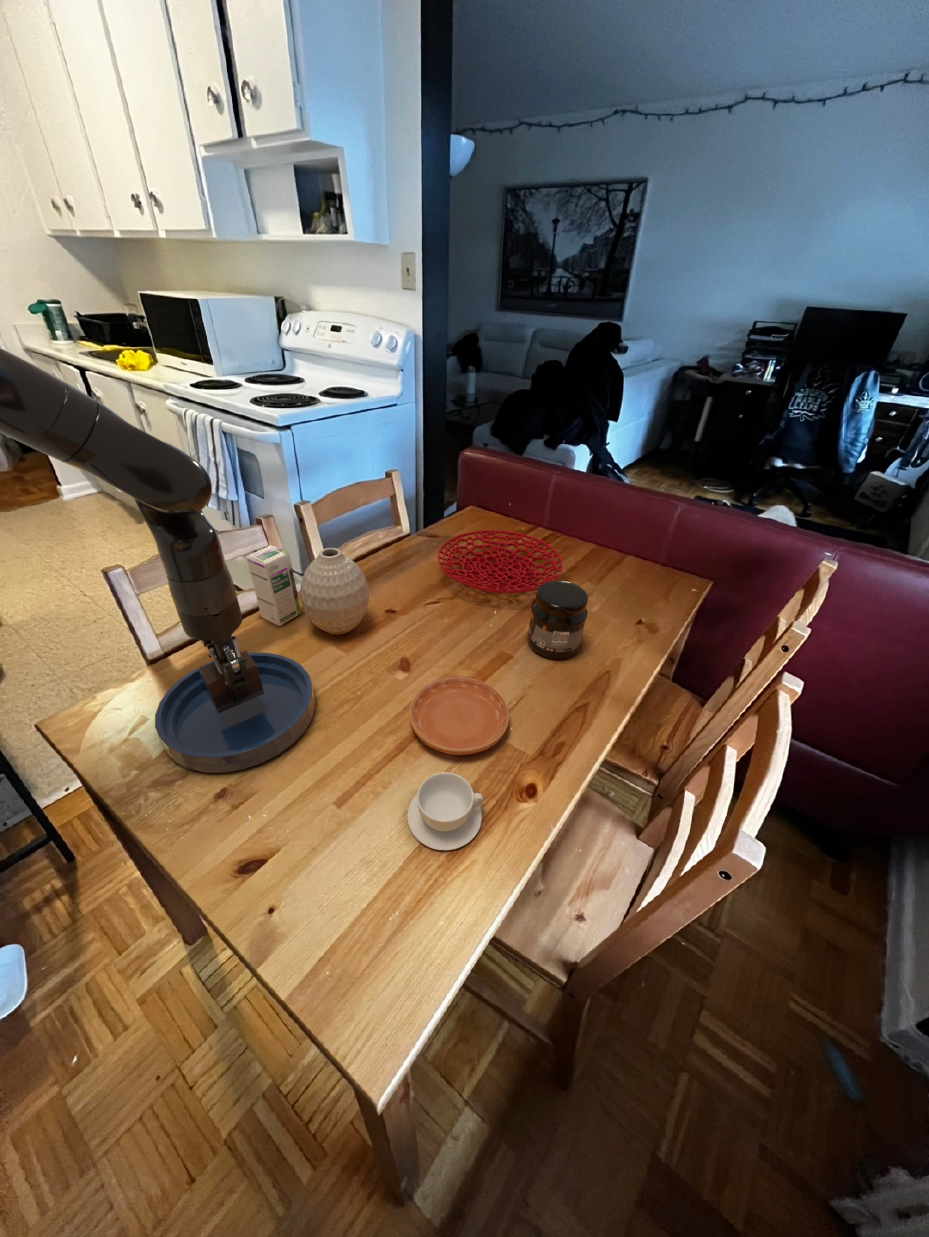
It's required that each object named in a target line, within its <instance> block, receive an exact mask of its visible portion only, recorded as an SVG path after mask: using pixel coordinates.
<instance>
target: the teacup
mask: <svg viewBox="0 0 929 1237" xmlns="http://www.w3.org/2000/svg"><path fill="white" fill-rule="evenodd" d="M483 798H484V797H483V794H482V793H480V792H474V790H473V788H472V785H471V784H470V783H469V782H468V780H467V779H466V778H464V777H463V776H461V775H459V774H457V773H453V772H450V771H449V772H446V771H444V772H437V773H434V774H431V775H429V776H428V777H427V778H425V779H423V781H422V782H421V783H420V785H419V786H418V788H417V792H416V794H415V796H414V797H413V799H412V800H411V801H410V804H409V806H408V809H407V825H408V827H409V831H411V834H412V835H413V836H414V837H415V839H416V840H417V841H418V842H420V843H421V844H422V845H424V846H426V847H427V848H431V849H433V850H438V851H450V850H456V849H459V848H461V847H464V846H466V845H467V844H468V843H470V842H471V841H472V840H473V839H474V838H475V837H476V835H477V834H478V832H479V830H480V828H481V825H482V822H483V821H482V820H483V813H482V808H481V806H482V805H483V803H484V802H483V801H484V799H483Z"/></svg>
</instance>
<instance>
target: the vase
mask: <svg viewBox="0 0 929 1237" xmlns="http://www.w3.org/2000/svg"><path fill="white" fill-rule="evenodd" d="M369 589H370V588H369V583H368V581H367V578H366V576H365V573H364V572H363V571H362V569H361V567H359V565H358V564H357V563H356V562H355V561H354V560H353V559H351V558H350V557H349V556H348V555H345V554H343V552H342V551H341V550H340V548H339V549H338V548H336V547H327V548H324V549H321V550H320V551H319V553H318V555H317V557H316V558H314V559H313V560H312V561H311V562H310V563H309V565H308V566H307V568H306V569H305V571H304V573H303V576H302V579H301V583H300V589H299V590H300V592H299V593H300V600H301V605H302V608H303V610H304V613H305V615H306V616H307V618H308V619H309V621H311V622H312V624H314V626H316V627H317V628H318V629H320V630H322V631H323V632H325V633H327V634H329V635H333V636H336V635H337V636H339V635H345V634H348V633H350V632H352V631H353V630H354V629H355V628H356V627H357V626H358V625H360V623H361V621H362V620H363V619H364V618H365V616H366V613H367V611H368V607H369V603H370V590H369Z"/></svg>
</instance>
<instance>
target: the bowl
mask: <svg viewBox="0 0 929 1237" xmlns="http://www.w3.org/2000/svg"><path fill="white" fill-rule="evenodd" d="M495 534H499V535H495ZM502 534H503V535H504V534H505V536H502ZM472 535H474V536H475V537H472ZM491 536H492V537H491ZM464 537H466V538H464ZM496 539H497V541H495V540H496ZM526 539H528V540H526ZM470 540H471V541H470ZM478 540H479V541H480V542H481V543H482V544H475V543H474V542H475V541H478ZM501 540H504V541H505V542H503V541H501ZM518 540H519V541H521V542H519V541H518ZM509 541H513V542H509ZM460 542H465V543H466V544H465V545H460ZM447 545H449V546H448V547H447ZM493 545H495V546H493ZM540 545H542V546H544V547H541V546H540ZM469 546H472V547H471V548H469ZM521 546H523V547H524V548H520V547H521ZM508 547H513V548H516V549H515V550H512V549H509V548H508ZM536 548H537V549H536ZM443 549H444V550H445V551H443ZM478 549H482V552H475V550H478ZM488 549H490V550H488ZM528 549H531V550H532V551H529V550H528ZM462 550H465V552H463V551H462ZM547 550H550V552H547ZM518 553H525V555H526V556H523V555H520V554H518ZM535 553H537V554H541V555H539V556H534V554H535ZM457 554H460V556H457ZM440 555H443V556H440ZM468 555H471V557H467V556H468ZM485 555H486V556H485ZM555 558H557V561H556V560H555ZM549 559H551V560H550V561H548V560H549ZM440 560H441V561H440ZM453 560H455V561H453ZM539 560H542V561H544V563H543V564H537V563H535V562H534V561H539ZM491 561H492V562H491ZM437 563H438V565H439V567H440V569H441V571H442V572H443V573H444V574H445V575H446V576H448V578H450V579H451V580H454V581H455V582H458V584H460V585H463V586H466V587H469V588H472V589H475V590H479V591H483V592H489V593H497V594H520V593H528V592H532V591H533V592H534V591H537V588H538V587H539V586H540V585H541V584H543V583H546V582H549V581H557V579H559V577H560V576H561V574H562V572H563V569H564V566H563V559H562V557H561V555H560V554H559V553H558V552H557V551H556V549H555V548H553V546H551V545H550V544H548V543H547V542H545V541H543V540H541V539H538V538H536V537H534V536H530V535H527V534H523V533H520V532H514V531H507V530H499V529H498V530H497V529H485V530H473V531H468V532H464V533H461V534H458V535H455V536H453V537H452V538H450V539H448V540H447V541H445V542H444V543H443V544H441V546H440V547H439V549H438V553H437ZM557 564H560V565H559V566H557ZM546 565H550V566H547V567H546ZM443 566H444V567H445V568H444V567H443ZM455 566H459V567H460V568H462V569H457V568H456V567H455ZM530 566H531V567H530ZM538 569H539V570H540V569H542V571H537V570H538ZM551 572H553V573H551ZM538 581H539V582H538Z"/></svg>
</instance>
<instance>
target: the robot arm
mask: <svg viewBox="0 0 929 1237" xmlns="http://www.w3.org/2000/svg"><path fill="white" fill-rule="evenodd" d="M0 433H1V434H2V435H5V436H7V437H9V438H10V439H13V440H15V441H17V442H19V443H21V444H23V445H25V446H27V447H30V448H32V449H33V450H36V451H38V452H40V453H43V454H44V455H46V456H48V457H50V458H52V459H55V460H57V461H59V462H61V463H63V464H66V465H68V466H71V467H73V468H76V469H79V470H81V471H83V472H86V473H88V474H90V475H92V476H94V477H96V478H98V479H99V480H101V481H103V482H105V483H107V484H108V485H110V486H111V487H114V488H115V489H118V490H119V491H121V492H123V493H124V494H125V495H127V496H130V497H131V498H133V500H134V502H135V504H136V506H137V508H138V510H139V512H140V514H141V516H142V518H143V520H144V521H145V523H146V525H147V527H148V529H149V531H150V533H151V535H152V537H153V539H154V542H155V545H156V550H157V552H158V556H159V558H160V562H161V564H162V567H163V570H164V573H165V575H166V580H167V584H168V588H169V593H170V596H171V598H172V601H173V604H174V607H175V610H176V613H177V615H178V618H179V622H180V624H181V626H182V630H183V632H184V633H185V634H186V636H187V637H189V638H191V639H193V640H198V641H200V642H201V643H202V645H203V647H204V649H205V652H206V654H207V656H208V658H210V659H211V662H212V663H213V662H214V664H215V666H216V669H217V671H218V672H219V673H220V674H223V676H224V679H225V681H226V682H225V684H226V685H227V686H228V689H229V692H230V695H231V698H232V700H233V702H234V703H237V702H239V701H242V700H244V699H246V698H247V697H248V693H247V690H246V686H245V685H246V684H249V682H248V681H249V680H248V677H247V671H246V666H245V659H244V658H243V657H242V656H241V655H240V652H241V651H240V649H239V647H240V644H239V642H238V639H237V637H236V635H233V634H234V633H235V632H236V631H237V630H238V629H239V628H240V626H241V625H242V623H243V614H242V610H241V606H240V603H239V599H238V596H237V591H236V587H235V584H234V581H233V577H232V575H231V573H230V570H229V568H228V564H227V562H226V559H225V556H224V552H223V548H222V545H221V544H222V543H221V541H220V538H219V535H218V533H217V531H216V529H215V527H214V526H213V525H212V524H211V522H210V521H209V520H208V518H207V517H206V515H205V514H204V512H203V509H205V507H206V506H208V504H209V502H210V500H211V498H212V496H213V495H212V494H213V483H212V480H211V477H210V475H209V473H208V471H207V470H206V468H205V466H203V464H201V462H200V461H198V460H197V459H196V458H194V457H192V456H191V455H189V454H187V453H186V452H185V451H183V450H181V449H180V448H178V447H177V446H175V445H173V444H171V443H169V442H166V441H163V440H161V439H159V438H158V437H155V436H154V435H151V434H150V433H148V432H146V431H144V430H142V429H141V428H138V427H137V426H135V425H133V424H131V423H130V422H128V421H127V420H125V419H124V418H122V417H121V416H120V415H118V414H117V413H116V412H114V411H113V410H112V409H110V408H109V407H108V406H106V405H104V404H103V403H102V402H99V401H98V400H96V399H95V398H93V397H91V396H90V395H88V394H86V393H84V392H83V391H81V390H80V389H78V388H76V387H75V386H73V385H71V384H69V383H68V382H66V381H64V380H63V379H61V378H59V377H57V376H56V375H55V374H53V373H51V372H49V371H47V370H45V369H44V368H42V367H40V366H38V365H36V364H34V363H32V362H30V361H28V360H26V359H24V358H22V357H20V356H19V355H16V354H14V353H12V352H10V351H8V350H6V349H4V348H2V347H0ZM235 656H236V657H235ZM219 662H220V663H223V664H224V665H220V663H219Z"/></svg>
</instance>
